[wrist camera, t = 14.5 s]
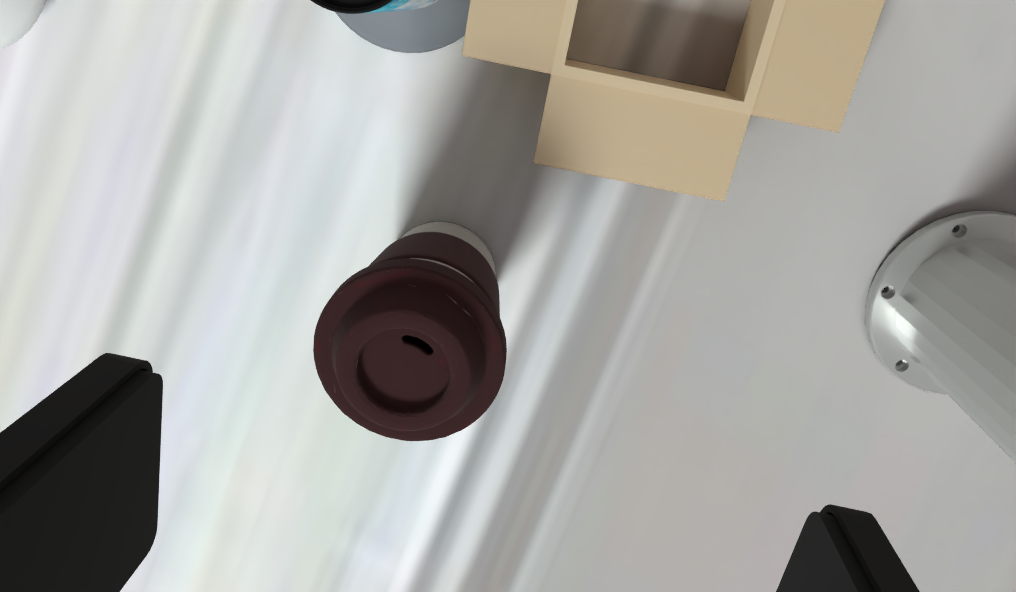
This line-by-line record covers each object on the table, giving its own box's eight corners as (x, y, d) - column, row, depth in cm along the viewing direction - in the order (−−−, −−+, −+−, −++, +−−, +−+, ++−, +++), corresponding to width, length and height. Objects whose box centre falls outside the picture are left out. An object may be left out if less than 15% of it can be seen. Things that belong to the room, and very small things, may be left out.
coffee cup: (415, 360, 54) (368, 486, 41) (342, 239, 51) (264, 330, 38) (541, 303, 52) (537, 415, 38) (472, 174, 49) (442, 244, 35)
